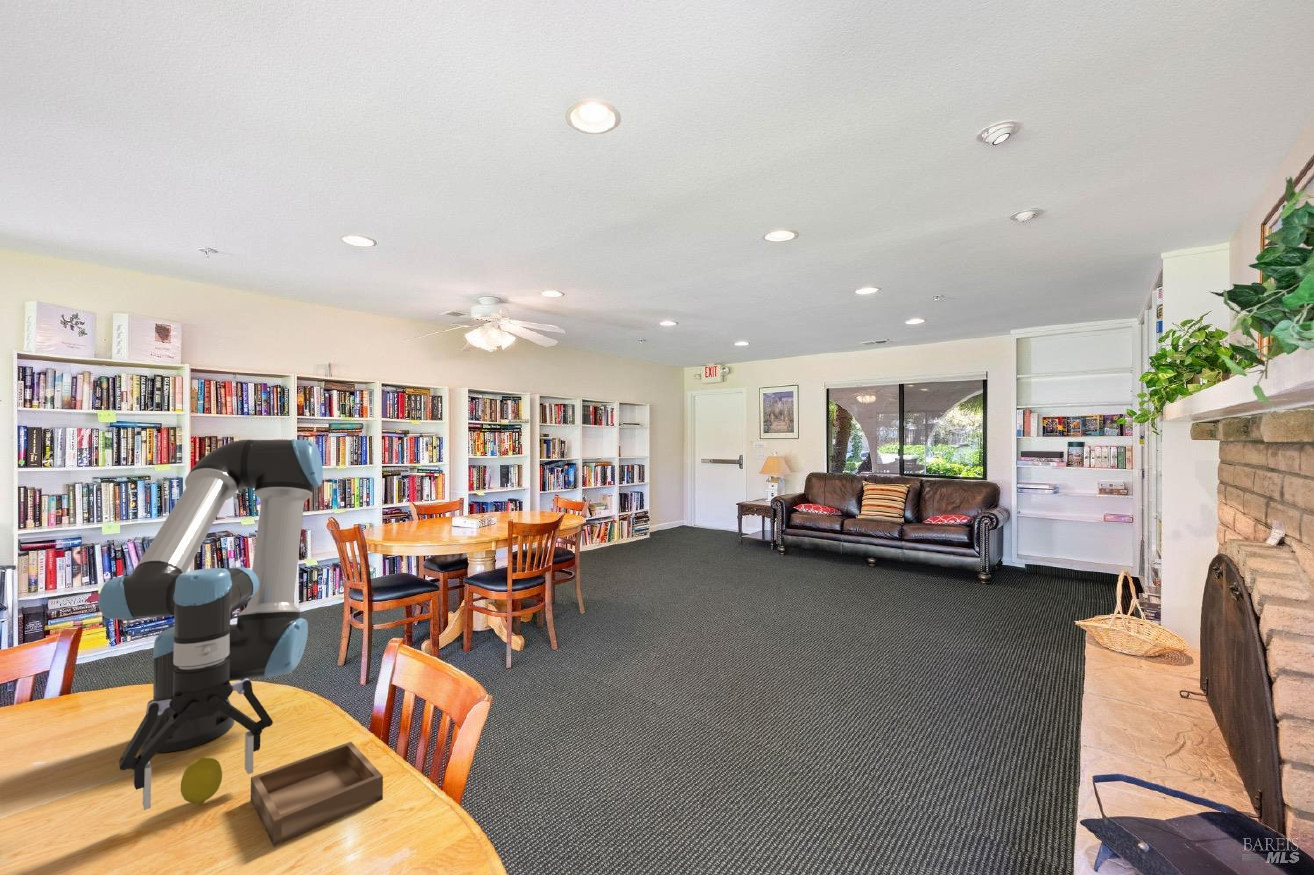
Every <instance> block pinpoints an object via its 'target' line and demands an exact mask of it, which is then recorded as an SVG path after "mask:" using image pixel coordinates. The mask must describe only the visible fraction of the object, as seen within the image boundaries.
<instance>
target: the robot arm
mask: <svg viewBox="0 0 1314 875" xmlns="http://www.w3.org/2000/svg"><path fill="white" fill-rule="evenodd" d="M323 471H324V469H323V461H322V456H321V453H320V450H319V448H318V446H317V444H316V443H315V442H314V441H311V440H305V439H295V438H292V439H238V440H235V441H232V442H228V443H225V444H223V445H221V446H219V447H217V448H215V449H214V450H212V451H210V452H209V453H208V454H206V455H205V456H204V457H202V458H201V459H200V460H199V461H197V463H195V465H194V466H193V467H192V468H191V469H190V470H189V472H188V474H187V475H186V477H185V480H184V484H185V489H184V491H183V492H182V494H181V495H180V496H179V499H178V500H177V501H176V503H175V505H174V506H173V508H172V509H171V511H170V513H169V514H168V516H167V517H166V519H165V521H164V522H163V524H162V526H161V527H160V528H159V530H158V532H157V533H156V535H155V537H154V539H152V541H151V543H150V545H149V546H148V547H147V549H146V550H145V552H144V553H143V555H142V557H141V559H140V561H139V562H138V564H137V565H136V566H135V568H134V570H133V571H132V572H131V574H130V575H122V576H118V577H112V578H110V580H107V581H106V582H104V583H105V584H103V586H101V587H102V588H101V589H100V593H99V596H98V609H99V612H101V615H102V616H103V617H104V618H105V619H108V620H132V621H133V620H137V619H146V618H147V619H149V618H156V617H158V618H159V617H170V616H171V617H172V616H174V619H173V621H174V626H172V627H169V628H167V629H166V630H163V631H162V632H160V633H159V634H158V635H157V636H156V637H155V640H154V644H153V652H152V653H153V655H152V656H151V658H152V672H153V673H152V674H153V676H152V683H153V684H152V685H153V688H152V689H153V693H152V694H153V696H152V697H153V699H151V700H149V701H148V702H147V706H146V712H145V714H144V715H145V716H144V717H143V719H142V720H141V723H140V724H139V726H138V728H137V729H136V731H135V732H134V734H133V736H132V738H131V740H130V741H129V743H128V744H127V746H126V748H125V750H124V752H123V753H122V755H121V756H120V759H119V760H118V766H119V770H120V771H121V772H122V771H126V770H132V771H133V786H134V787H133V788H134V789H135V790H136V791H137V790H139V789H142V806H143V809H144V811H146V810H149V809H151V806H152V804H151V803H152V797H151V796H152V764H151V760H152V759H153V757H154V756H155V755H156V754H157V753H170V752H177V751H181V750H186V749H187V750H188V749H190V748H193V747H197V746H200V745H203V744H206V743H207V742H210V741H212V740H214V739H217V738H219V737H221V736H223V735H225V734H226V733H227V732H228V731H230V730H231V729H232V728H233V726H234V725H235V722H237V723H238V724H240V725H241V726H242V727H244V728H245V729H247V731H245V732H244V770H245V772H246V773H247V775H250V774H254V752H258V751H259V750H260V748H261V734H262V733H263V730H264V729H266V728H269V727H271V726H272V725H273V723H274V721H273V719H272V717H270V715H269V714H268V712H267V711H266V709H265V708H264V706H263V705H262V704H261V702H260V701H259V699H258V698H257V696H256V695H255V694H254V692H253V684H252V681H251V680H253V679H262V678H265V679H270V678H273V677H277V676H278V677H279V676H284V675H288V674H290V673H292V672H293V671H294V670H295V669H296V668H297V666H298V665H299V663H300V661H301V660H302V658H303V654H304V652H305V648H306V645H307V642H308V634H309V623H308V621H307V619H306V618H303V617H301V610H300V609H299V608H298V606H296V605H295V603H294V600H295V590H296V583H297V580H296V579H297V573H298V572H297V571H298V562H299V553H300V546H301V544H300V543H301V535H302V534H301V533H302V525H303V516H304V507H305V502H306V501H307V500H308V499H310V498H311V497H312V496H313V490H314V489H316V488H318V487H321V486H322V484H323V479H324V472H323ZM241 489H242V490H243V489H254V495H255V496H256V497H257V498H258V499H259V500H260V508H259V516H258V517H259V518H258V522H257V523H258V524H257V530H256V538H255V539H256V540H255V547H254V554H253V562H252V567H251V568H252V569H250V568H248V567H243V566H235V567H228V568H222V567H221V568H220V567H214V568H213V567H210V568H202V569H194V570H191V571H188V570H189V568H190V566H191V565H192V563H193V560H194V559H195V557H196V555H197V554H198V552H199V550H200V548H201V546H202V544H203V543H204V540H205V538H206V537H207V535H208V533H209V531H210V530H211V528H212V526H213V524H214V522H216V519H217V517H218V515H219V513H220V511H221V510H222V508H223V507H224V504H225V502H226V501H227V500H230V499H231V498H232V497H234V496H235V494H236V493H237V491H239V490H241ZM244 606H246V607H245V608H244V609H243V610H242V611H241V612H239V613H238V614H237V617H236V619H237V620H236V623H234V624H231V613H233V612H235V611H236V610H238V609H240V608H242V607H244ZM234 681H237V682H234ZM231 682H234V683H231ZM233 692H237V694H238V695H243V696H244V697H245V699H246V701H247V702H248V704H249V705H250V706H251V707H252V709H253V711H255V713H256V714H257V716H258V718H259V719H260V720H258V721H255V720H253V719H252V718H251V717H249V715H246V714H245V713H243V712H242V711H241V710H240V709H239V708H236V707H235V706H234V705H233V704H232V703H231V701H230V699H229V698H230V696H231V694H233ZM229 729H230V730H229ZM141 748H142V751H141V752H140V749H141ZM139 752H140V753H139ZM138 753H139V754H138Z"/></svg>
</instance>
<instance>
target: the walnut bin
mask: <svg viewBox="0 0 1314 875" xmlns="http://www.w3.org/2000/svg"><path fill="white" fill-rule="evenodd" d="M383 798H384V775H383V774H382V773H381V772H380V771H379V770H378V769H377V767H375V765H373V763H372V762H371V761H370V760H369V759H368V758H367V757H366V755H364V754H363V752H362V751H361V750H360V749H359V748H358V747H357V746H356V745H355V744H354V743H353V742H352V741H349V742H346V743H343V744H339V745H337V746H334V747H332V748H329V749H326V750H324V751H320V752H317V753H315V754H312V755H310V756H306V757H304V758H301V759H298V760H295V761H292V762H289V763H287V764H284V765H282V766H279V767H276V768H275V767H274V768H273V769H270V770H267V771H264V772H262V773H258V774H256V775H253V776H250V802H251V804H252V805H253V808H254V810H255V812H256V814H257V816H258V818H259V820H260V822H261V824H262V826H263V828H264V830H265V832H266V834H267V835H268V837H269V840H270V842H271V843H272V846H273V847H274V848H275V847H277V846H279V845H281V844H283V843H286V842H288V841H290V840H292V839H295V838H297V837H299V836H303V835H304V834H307V833H308V832H311V831H313V830H315V829H317V828H320V827H323V826H324V825H327V824H330V823H331V822H333V821H335V820H336V821H337V819H340V818H342V817H345V816H347V815H349V814H351V813H354V812H356V811H359V810H360V809H363V808H366V807H367V806H370V805H372V804H374V803H376V802H379V801H381V800H383Z"/></svg>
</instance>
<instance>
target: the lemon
mask: <svg viewBox="0 0 1314 875" xmlns="http://www.w3.org/2000/svg"><path fill="white" fill-rule="evenodd" d="M222 770H223V769H222V767H221V764H220V762H219V761H218V760H217V759H216V758H214V757H211V756H205V755H204V756H200V757H199V758H198V759H196V760H194V761H193V762H191V763H190V764H189V765H188V766H187V768H185V770H184V772H183V775H182V777H181V782H180V793H181V796H182V798H183V799H184V801H186V802H188V803H190V804H197V805H202V804H205V803H206V801H207V800H209V799H210V798H212V797H213V796H214V795H215V794H216V793H217V792H218V790H219V788H220V786H221V784H222V780H223V771H222Z"/></svg>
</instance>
